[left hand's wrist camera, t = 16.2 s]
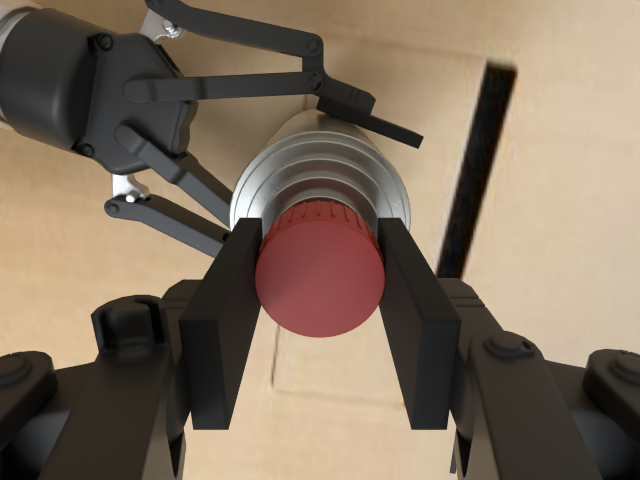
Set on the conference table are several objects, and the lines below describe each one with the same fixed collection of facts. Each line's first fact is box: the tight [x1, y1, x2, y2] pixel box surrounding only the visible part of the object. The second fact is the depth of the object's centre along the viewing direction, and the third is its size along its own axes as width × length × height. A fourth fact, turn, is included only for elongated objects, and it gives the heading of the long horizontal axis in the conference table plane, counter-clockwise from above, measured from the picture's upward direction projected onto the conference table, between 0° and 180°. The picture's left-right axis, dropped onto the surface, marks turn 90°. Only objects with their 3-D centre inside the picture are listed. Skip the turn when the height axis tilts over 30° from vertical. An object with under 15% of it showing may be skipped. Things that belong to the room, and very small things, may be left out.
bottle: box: [229, 108, 411, 239], centre depth 23 cm, size 8×8×22 cm
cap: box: [255, 200, 385, 337], centre depth 13 cm, size 4×4×2 cm
